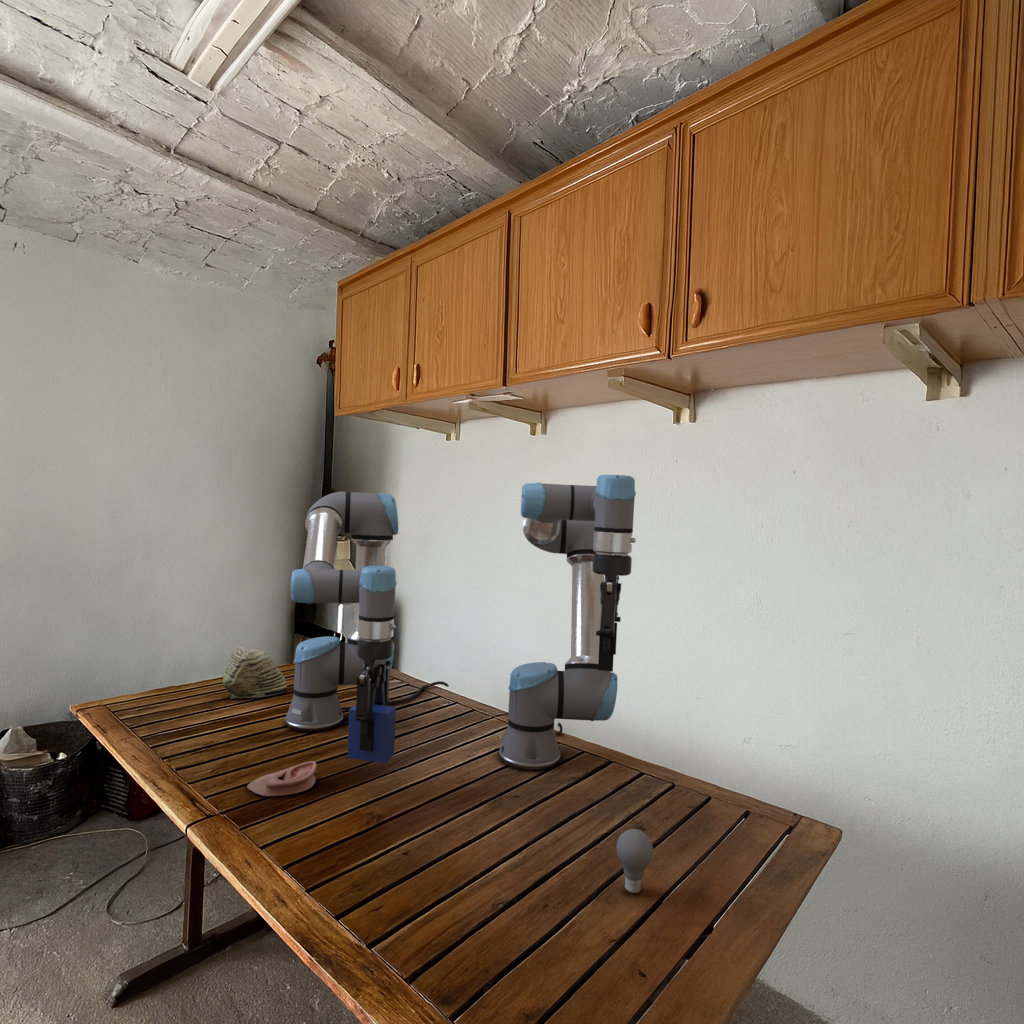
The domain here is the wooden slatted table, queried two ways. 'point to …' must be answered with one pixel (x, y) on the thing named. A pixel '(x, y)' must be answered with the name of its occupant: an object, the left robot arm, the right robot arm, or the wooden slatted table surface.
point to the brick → (381, 737)
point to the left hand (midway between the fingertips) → (371, 745)
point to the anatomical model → (285, 781)
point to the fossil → (252, 674)
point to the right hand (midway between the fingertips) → (607, 661)
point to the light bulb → (634, 857)
